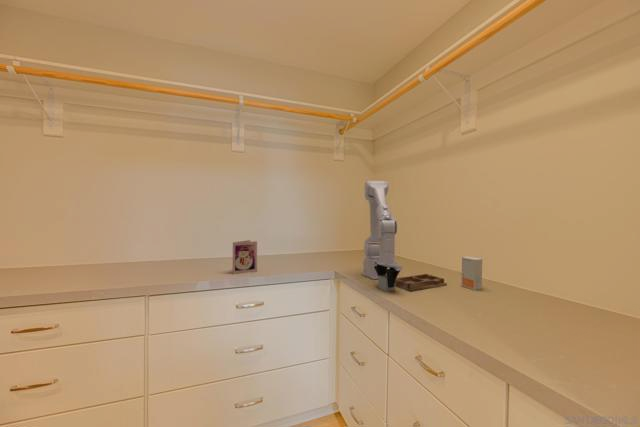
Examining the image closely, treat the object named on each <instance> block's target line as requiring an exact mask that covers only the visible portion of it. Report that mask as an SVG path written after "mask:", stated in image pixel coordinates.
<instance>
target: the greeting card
mask: <svg viewBox="0 0 640 427" xmlns="http://www.w3.org/2000/svg"><path fill="white" fill-rule="evenodd" d="M249 272H250V273H257V272H258V240H256V241H251V240H250V239H247V240H242V241H241V240H240V241H235V242H232V275H236V274H237V275H238V274H239V273H240V274H246V273H248V274H249ZM240 274H239V275H240Z"/></svg>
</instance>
